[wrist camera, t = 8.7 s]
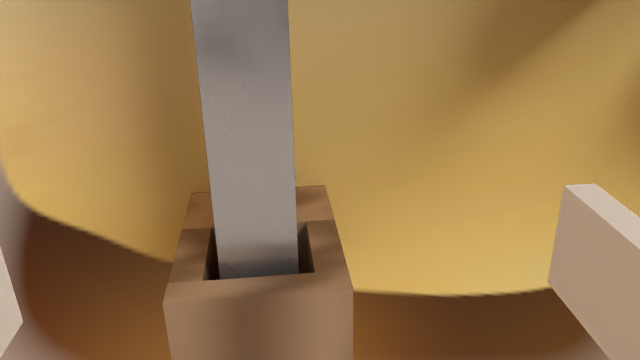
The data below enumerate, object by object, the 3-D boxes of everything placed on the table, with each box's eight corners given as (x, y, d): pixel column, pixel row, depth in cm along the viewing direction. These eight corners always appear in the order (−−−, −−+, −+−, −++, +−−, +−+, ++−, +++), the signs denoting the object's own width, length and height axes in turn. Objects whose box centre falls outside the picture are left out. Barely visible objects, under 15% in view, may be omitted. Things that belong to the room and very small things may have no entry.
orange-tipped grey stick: (273, -277, 20) (276, -320, 17) (297, 291, 30) (302, 335, 27) (171, -278, 20) (153, -322, 17) (229, 296, 30) (225, 341, 27)
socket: (324, 185, 34) (353, 289, 24) (326, 269, 36) (352, 396, 26) (191, 193, 33) (162, 303, 23) (202, 278, 35) (179, 412, 25)
